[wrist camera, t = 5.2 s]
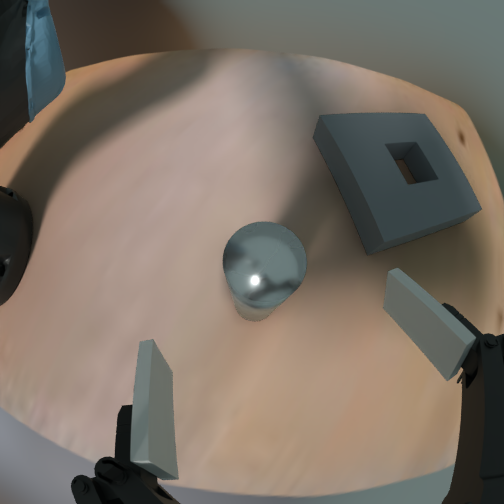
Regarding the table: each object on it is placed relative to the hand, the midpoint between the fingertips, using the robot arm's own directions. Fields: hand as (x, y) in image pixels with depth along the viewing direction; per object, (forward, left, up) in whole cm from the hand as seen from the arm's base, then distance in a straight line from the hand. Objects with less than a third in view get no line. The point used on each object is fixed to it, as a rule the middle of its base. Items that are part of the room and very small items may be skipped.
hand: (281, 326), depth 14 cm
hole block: (+19, +11, -8) cm, 23 cm away
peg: (0, +3, -8) cm, 8 cm away
